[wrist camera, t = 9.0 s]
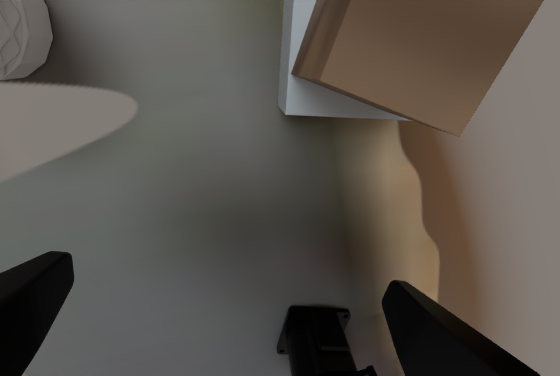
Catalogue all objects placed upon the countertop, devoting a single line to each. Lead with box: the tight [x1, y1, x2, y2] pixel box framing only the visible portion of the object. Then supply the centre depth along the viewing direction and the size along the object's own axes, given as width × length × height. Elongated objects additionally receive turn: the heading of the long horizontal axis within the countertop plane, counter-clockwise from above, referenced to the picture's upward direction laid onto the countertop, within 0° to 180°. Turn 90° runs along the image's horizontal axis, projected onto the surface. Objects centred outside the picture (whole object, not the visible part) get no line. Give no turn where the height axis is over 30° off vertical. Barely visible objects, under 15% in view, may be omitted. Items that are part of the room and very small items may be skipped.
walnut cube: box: [291, 0, 544, 137], centre depth 11 cm, size 6×6×6 cm
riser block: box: [278, 0, 411, 121], centre depth 16 cm, size 8×8×4 cm
